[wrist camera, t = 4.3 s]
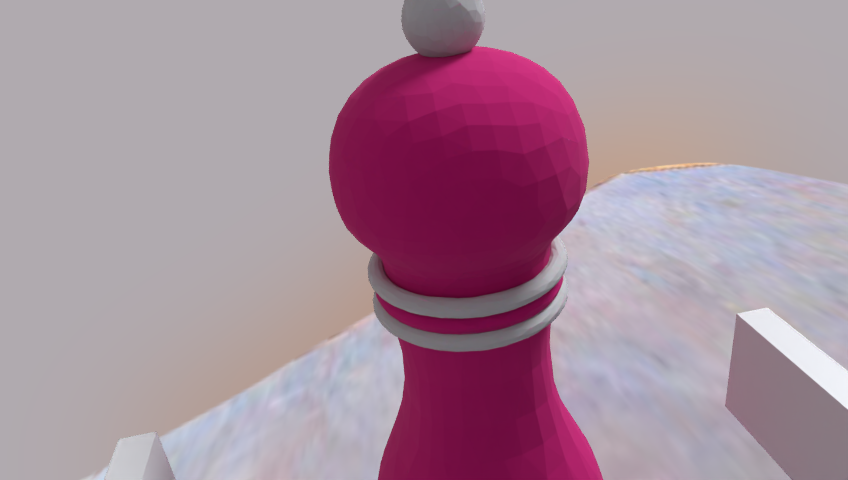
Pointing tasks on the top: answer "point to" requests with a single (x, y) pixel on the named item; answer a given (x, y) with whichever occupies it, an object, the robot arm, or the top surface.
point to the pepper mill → (467, 246)
